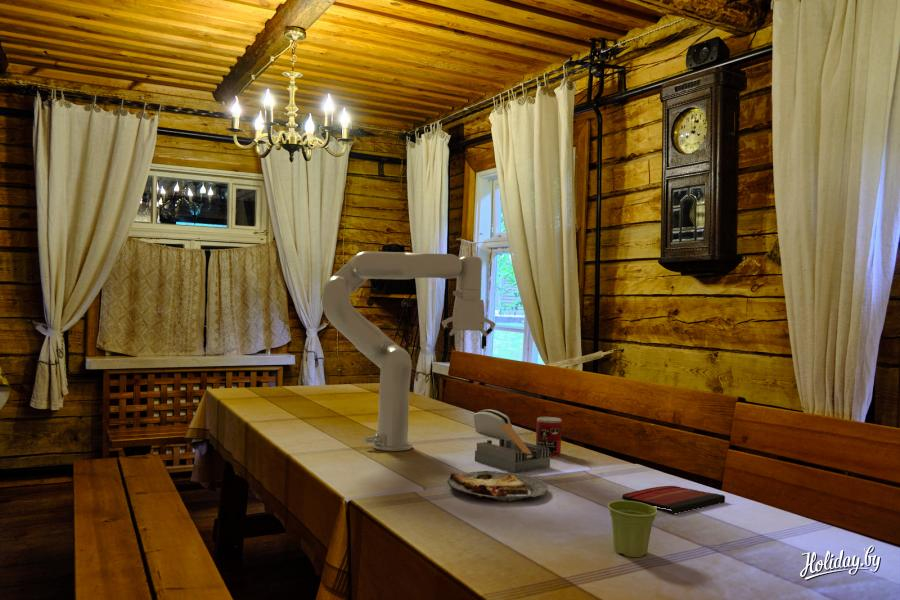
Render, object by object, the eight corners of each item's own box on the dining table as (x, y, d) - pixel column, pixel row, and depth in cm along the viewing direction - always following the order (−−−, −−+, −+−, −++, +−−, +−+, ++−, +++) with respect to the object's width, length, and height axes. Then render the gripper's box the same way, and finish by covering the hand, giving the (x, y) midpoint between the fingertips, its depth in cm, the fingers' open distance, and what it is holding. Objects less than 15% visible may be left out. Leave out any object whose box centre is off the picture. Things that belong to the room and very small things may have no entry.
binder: (725, 494, 174) (673, 507, 161) (725, 504, 174) (673, 517, 161) (670, 482, 187) (618, 493, 174) (670, 491, 187) (618, 502, 174)
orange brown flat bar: (523, 456, 200) (524, 454, 199) (500, 425, 208) (501, 424, 207) (530, 455, 202) (531, 453, 201) (507, 424, 209) (508, 423, 209)
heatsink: (514, 473, 194) (515, 452, 194) (474, 460, 208) (475, 441, 208) (549, 467, 203) (550, 447, 203) (509, 455, 216) (509, 436, 216)
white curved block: (518, 438, 245) (512, 411, 243) (508, 443, 242) (502, 417, 240) (485, 429, 258) (479, 404, 255) (476, 435, 255) (470, 410, 253)
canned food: (532, 454, 220) (533, 419, 220) (540, 449, 227) (542, 415, 227) (555, 457, 216) (556, 421, 216) (563, 453, 223) (565, 418, 223)
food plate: (461, 505, 162) (462, 490, 162) (436, 480, 184) (437, 467, 185) (561, 504, 169) (562, 489, 169) (525, 480, 191) (526, 467, 191)
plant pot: (646, 544, 141) (648, 501, 141) (662, 561, 132) (664, 515, 132) (600, 543, 141) (602, 499, 141) (613, 560, 132) (615, 514, 131)
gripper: (442, 294, 222) (441, 348, 222) (497, 295, 223) (495, 349, 223) (442, 294, 230) (440, 346, 230) (494, 295, 230) (493, 348, 230)
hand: (467, 348), depth 226 cm, fingers open, 9 cm apart
